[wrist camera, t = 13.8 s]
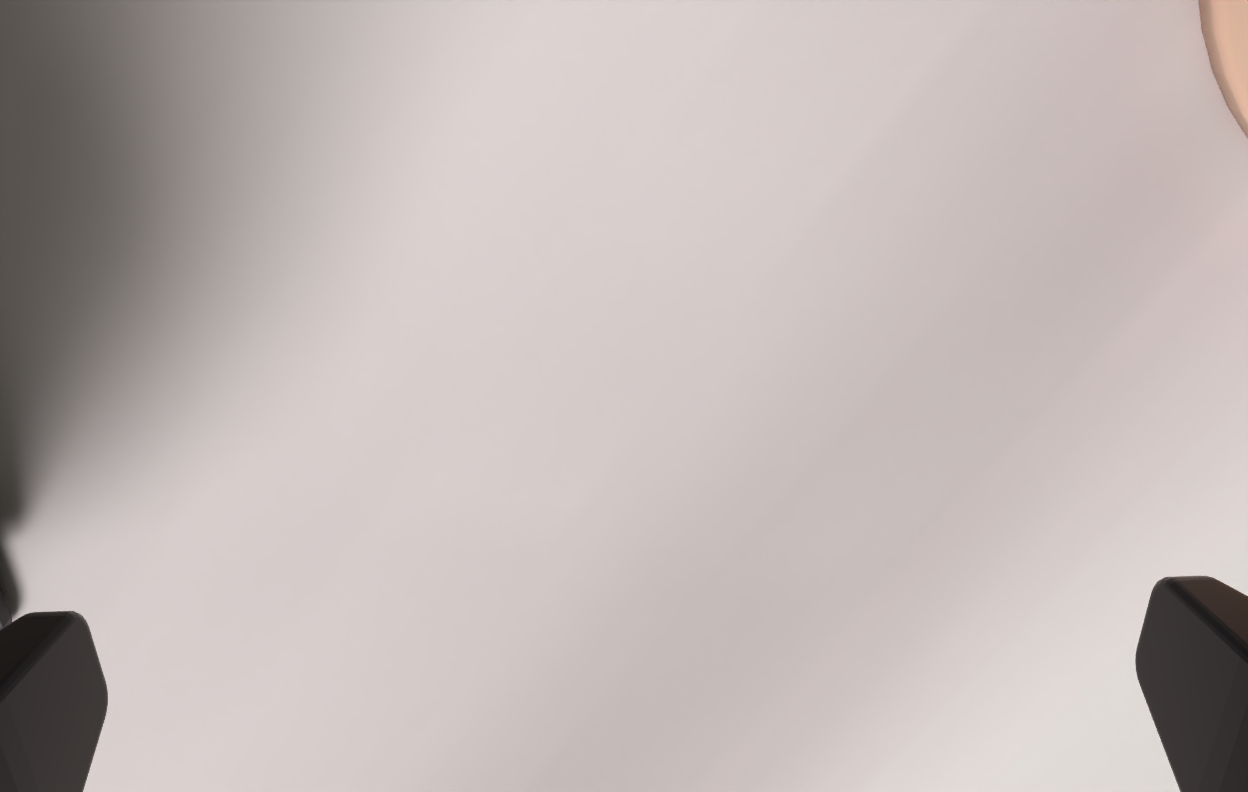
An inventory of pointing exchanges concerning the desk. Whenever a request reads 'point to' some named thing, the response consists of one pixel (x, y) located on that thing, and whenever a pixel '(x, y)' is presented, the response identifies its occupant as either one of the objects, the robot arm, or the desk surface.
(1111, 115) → the desk surface
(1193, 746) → the robot arm
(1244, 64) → the coaster
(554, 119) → the desk surface
